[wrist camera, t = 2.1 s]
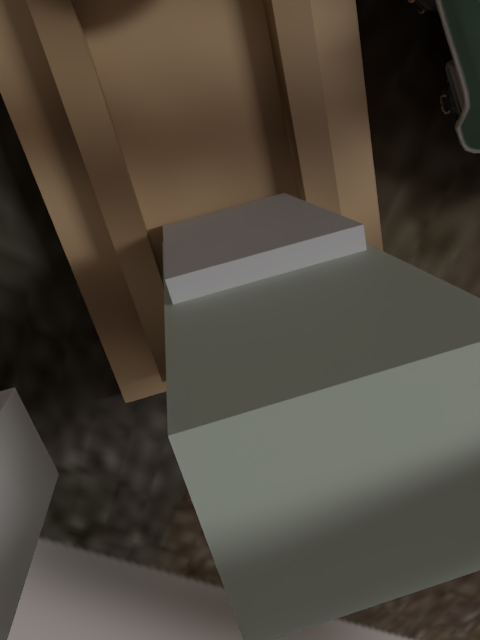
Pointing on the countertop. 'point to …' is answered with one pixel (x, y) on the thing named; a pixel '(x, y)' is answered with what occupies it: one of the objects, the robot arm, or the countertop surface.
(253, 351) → the block
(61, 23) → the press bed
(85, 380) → the countertop surface
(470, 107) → the hoverbike
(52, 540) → the countertop surface
